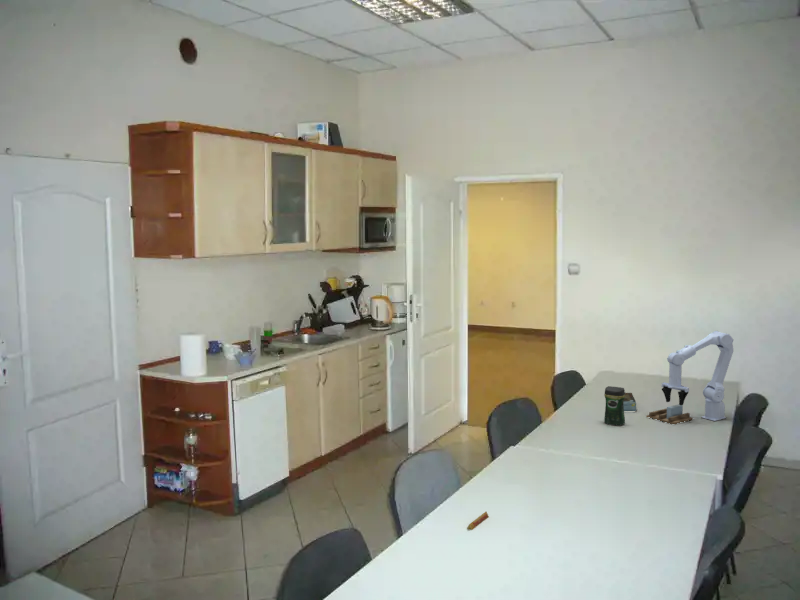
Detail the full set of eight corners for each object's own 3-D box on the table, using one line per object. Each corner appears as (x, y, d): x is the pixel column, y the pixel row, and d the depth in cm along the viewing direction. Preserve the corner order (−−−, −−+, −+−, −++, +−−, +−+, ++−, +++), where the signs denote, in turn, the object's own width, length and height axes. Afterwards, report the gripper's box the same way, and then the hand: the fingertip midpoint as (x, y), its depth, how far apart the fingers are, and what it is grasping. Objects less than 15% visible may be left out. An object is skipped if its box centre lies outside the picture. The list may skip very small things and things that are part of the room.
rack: (665, 412, 358) (665, 407, 358) (692, 419, 345) (692, 414, 344) (646, 417, 350) (646, 411, 350) (673, 424, 337) (673, 418, 336)
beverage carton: (620, 412, 362) (620, 400, 361) (616, 403, 380) (617, 391, 380) (636, 412, 360) (636, 400, 359) (632, 403, 379) (632, 391, 378)
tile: (678, 415, 349) (678, 404, 348) (682, 417, 346) (682, 405, 346) (666, 418, 344) (666, 407, 343) (670, 419, 342) (671, 408, 341)
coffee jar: (626, 422, 341) (627, 386, 339) (621, 427, 335) (622, 389, 333) (607, 420, 347) (607, 384, 345) (602, 424, 340) (602, 387, 338)
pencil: (489, 518, 235) (489, 512, 235) (472, 531, 225) (472, 525, 225) (482, 516, 236) (482, 510, 236) (465, 529, 226) (465, 523, 226)
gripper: (657, 375, 347) (657, 401, 348) (682, 380, 334) (682, 407, 336) (666, 373, 350) (666, 399, 352) (691, 378, 338) (691, 405, 340)
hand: (674, 403), depth 344 cm, fingers open, 7 cm apart
